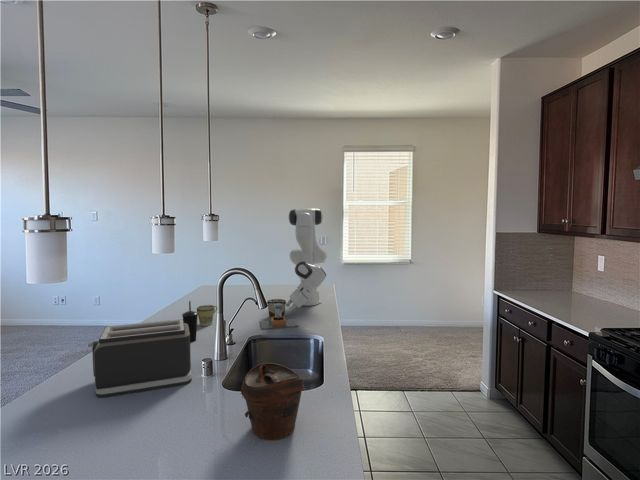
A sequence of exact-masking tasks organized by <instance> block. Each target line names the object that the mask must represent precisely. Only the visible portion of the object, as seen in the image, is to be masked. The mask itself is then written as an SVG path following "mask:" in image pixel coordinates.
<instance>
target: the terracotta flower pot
mask: <svg viewBox="0 0 640 480" xmlns="http://www.w3.org/2000/svg"><path fill="white" fill-rule="evenodd" d="M303 391H304V392H305V391H306V388H305V384H304V379H303V378H302V376H301V375H300V374H298V373H297V372H296V371H295V370H293V369H291V368H289V367H287V366H285V365H283V364H280V363H279V364H278V363H274V362H264V363H260V364H259V363H258V364H256V365H255V366H254V367H252V368H251V369H250V370H248V371H247V373H246V375H244V377H243V380H242V384H241V389H240V395H242V397H241V399H244V400H245V404H246V407H247V410H246V412H245V413H244V415H245V418H248V419H249V421H250V424H251V425H250V426H251V430H252V432H253V434H254V435H256V437H258V438H261V439H263V440H268V441H273V440H274V441H275V440H280V439H283V438H286V437H288V436H290V435H291V434H292V433H293V432H294V430H295V428H296V422H297V418H298V417H297V416H298V413H299V412H298V411H299V407H300V402H301V398H302V392H303Z"/></svg>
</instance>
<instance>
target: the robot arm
mask: <svg viewBox="0 0 640 480" xmlns="http://www.w3.org/2000/svg"><path fill="white" fill-rule="evenodd" d="M287 218H288V221H289V224H290V225H292V226H295V239H296V242H297V244H298V246H299V247H300V248H299V247H298V248H294V249H291V251H290V252H289V260H290V261H291V263H292V264H294V265H295V267H294V272H295V274H296V276H297V277H298V278H299V280H300V284H299V285H298V286H297V287H296V289H294V291H292V293H290V295H289V296H288V297H289V299H288V302H286V303H287V304H286V305H285V307H287V308H288V309H287V311H289V312H292V311H293V310H294V309H296V308H297V309H299V308H301V307H302V306H317V305H319V304H322V300H320V291H319V290H318V288H319V287H320V286H321V285H322V284H323V282H325V280H326V278H327V273H326V272H325V271H324V269H323V268H322V267H321V266H320V264H324V263H326V260H327V257H328V256H327V255H328V254H327V252H326V250H325V249H324V248H322V247H321V246H320V245H319V243H318V241H317V237H316V226H318V225H320V224H322V222H323V219H324V215H323V211H322V210H321V209H319V208H309V207H308V208H298V209H296V208H294V209H291V210H290V211H289V213H288V217H287ZM318 264H319V265H318Z"/></svg>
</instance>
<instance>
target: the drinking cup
mask: <svg viewBox="0 0 640 480" xmlns="http://www.w3.org/2000/svg"><path fill="white" fill-rule="evenodd" d="M188 305H189V307H188V309H189V310H188V311H185V312H183V313H182V314H181V316H182V319H183V320H184V323H186V324H188V327H189V332H190V343H194V342H196V341H197V330H198V329H197V327H198V318H199V317H198V313H197V311H194V310H192V309H191V308H192V307H191V305H192V304H191V300H190V301H188Z"/></svg>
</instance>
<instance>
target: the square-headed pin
mask: <svg viewBox="0 0 640 480" xmlns="http://www.w3.org/2000/svg"><path fill="white" fill-rule="evenodd" d="M274 306H275V320H282V315H281V307H282V304H281V303H279V304H274Z"/></svg>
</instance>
